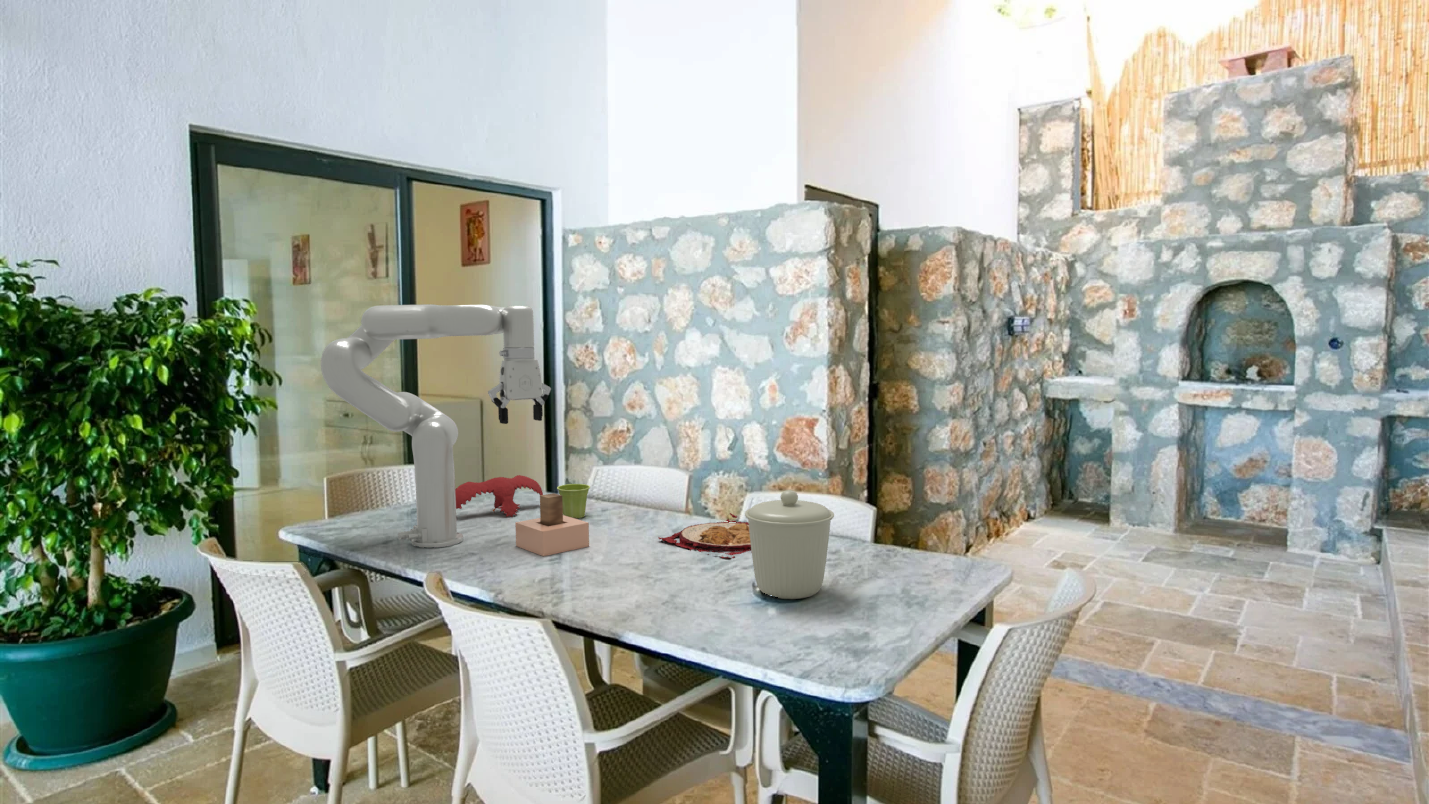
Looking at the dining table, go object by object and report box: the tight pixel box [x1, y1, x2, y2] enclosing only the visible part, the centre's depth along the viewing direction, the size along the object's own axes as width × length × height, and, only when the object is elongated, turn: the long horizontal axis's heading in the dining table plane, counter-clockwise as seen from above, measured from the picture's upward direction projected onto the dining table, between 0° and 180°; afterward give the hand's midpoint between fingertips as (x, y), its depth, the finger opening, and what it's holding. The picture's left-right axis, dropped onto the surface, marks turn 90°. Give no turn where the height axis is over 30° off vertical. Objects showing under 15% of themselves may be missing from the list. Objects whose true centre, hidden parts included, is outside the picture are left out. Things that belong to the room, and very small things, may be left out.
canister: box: [744, 489, 835, 600], centre depth 172 cm, size 18×18×21 cm
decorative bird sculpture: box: [455, 474, 544, 518], centre depth 247 cm, size 28×9×15 cm
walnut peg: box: [539, 493, 563, 526], centre depth 210 cm, size 4×4×12 cm
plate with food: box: [658, 513, 752, 559], centre depth 215 cm, size 25×26×4 cm
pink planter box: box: [515, 515, 590, 557], centre depth 210 cm, size 13×13×6 cm
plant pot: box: [556, 483, 591, 519], centre depth 242 cm, size 9×9×9 cm
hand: (521, 421), depth 216 cm, fingers open, 9 cm apart
